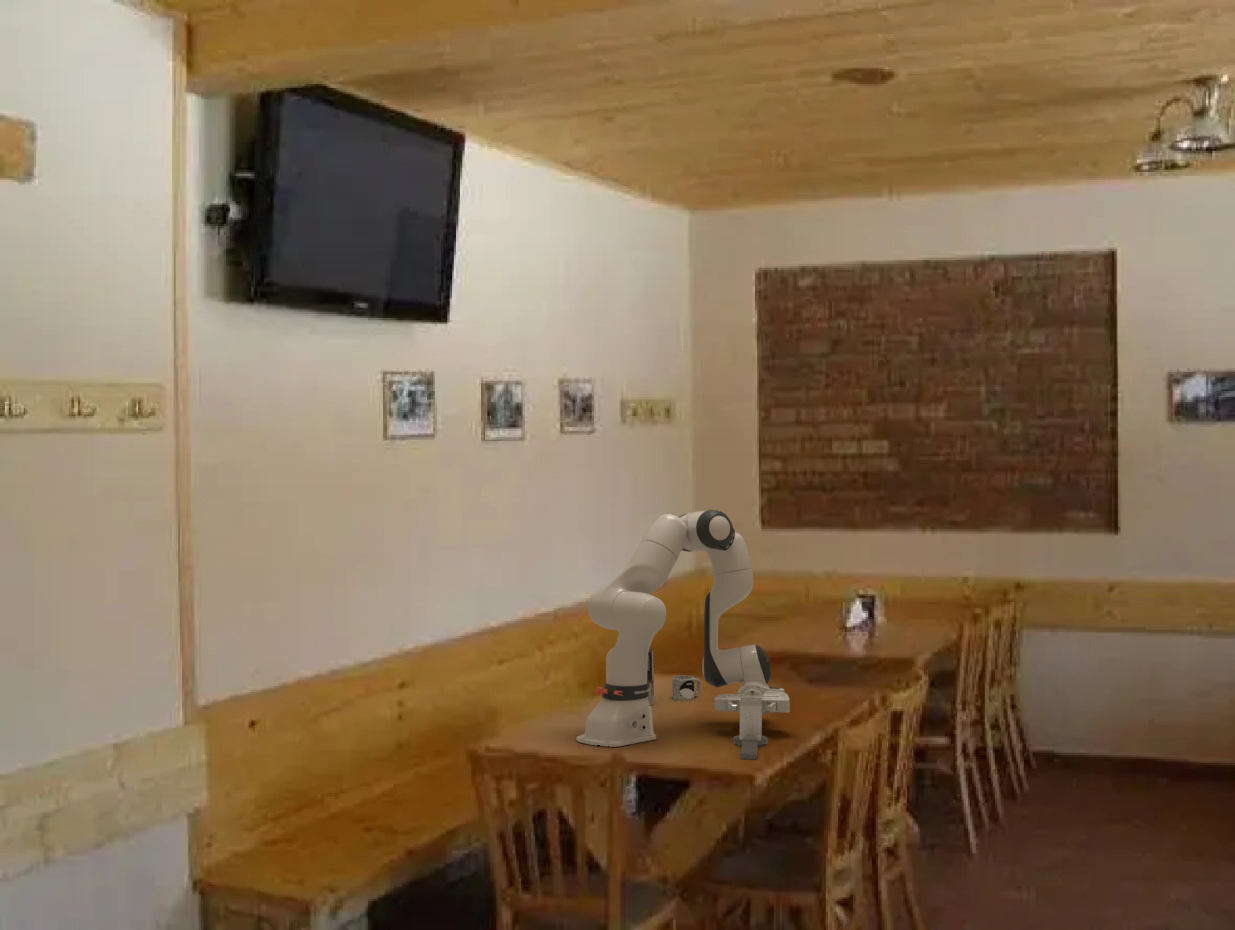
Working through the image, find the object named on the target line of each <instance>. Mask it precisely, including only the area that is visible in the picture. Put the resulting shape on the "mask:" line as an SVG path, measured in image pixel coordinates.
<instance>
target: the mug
mask: <svg viewBox="0 0 1235 930" xmlns="http://www.w3.org/2000/svg"><path fill="white" fill-rule="evenodd" d="M671 679H672V683H671V684H672V686H671V687H672V693H671V695H672V697H671V698H672V700H674V701H679V702H680V701H681V702H687V701H688V700H689V701H694V700H695V696H696V695H698V694H699V693H701V688H702V685H701V684H702V682H701V679H700V678H698V677H695V676H693V675H686V674H684V675H683V674H682V675H681V674H680V675H673V676H672V678H671ZM695 682H696V684H697V686H696V687H697V688H696V690H695ZM693 699H694V700H693Z"/></svg>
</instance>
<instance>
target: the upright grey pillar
mask: <svg viewBox="0 0 1235 930" xmlns="http://www.w3.org/2000/svg"><path fill="white" fill-rule="evenodd" d="M762 723H763V715H762V698H756V697H741V698H740V712H739V735H740V740H761V738H762V736H763V729H762V728H763V725H762Z"/></svg>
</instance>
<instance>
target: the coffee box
mask: <svg viewBox="0 0 1235 930" xmlns="http://www.w3.org/2000/svg"><path fill="white" fill-rule="evenodd" d="M654 669H655V667H654V648H649V652H648V662H647V682H648V683H649V696H648V697H647V698H648V702H649V705H650V706H653V705H654V703H655V688H654V687H655V686H654V685H655V684H654V682H655V681H654V680H655V679H654V677H655V675H654V672H655V671H654Z"/></svg>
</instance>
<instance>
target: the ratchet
mask: <svg viewBox="0 0 1235 930" xmlns="http://www.w3.org/2000/svg"><path fill="white" fill-rule="evenodd" d="M732 738H733V739H732V741H733V742H732V743H733V745H734V746H737V745H739V746H738V747H740V756H739V757H740V759H739V760H757V759H758V758H757V757H758V748H759V747H760V748H761V747H766V746H767V745H768V741H769V740H768V736H765V735H762V738H761V740H740V734H739V735H735V736H733V737H732Z"/></svg>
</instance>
